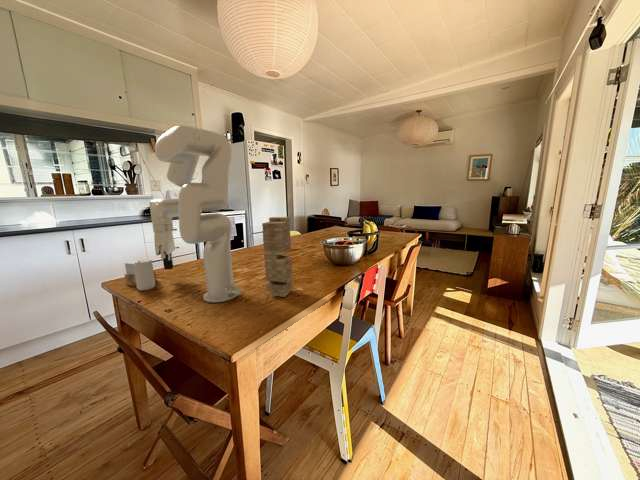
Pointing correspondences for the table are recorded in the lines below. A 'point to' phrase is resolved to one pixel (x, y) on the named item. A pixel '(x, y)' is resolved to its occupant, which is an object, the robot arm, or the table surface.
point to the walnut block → (133, 279)
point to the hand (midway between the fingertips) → (168, 268)
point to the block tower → (277, 255)
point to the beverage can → (144, 274)
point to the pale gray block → (131, 267)
